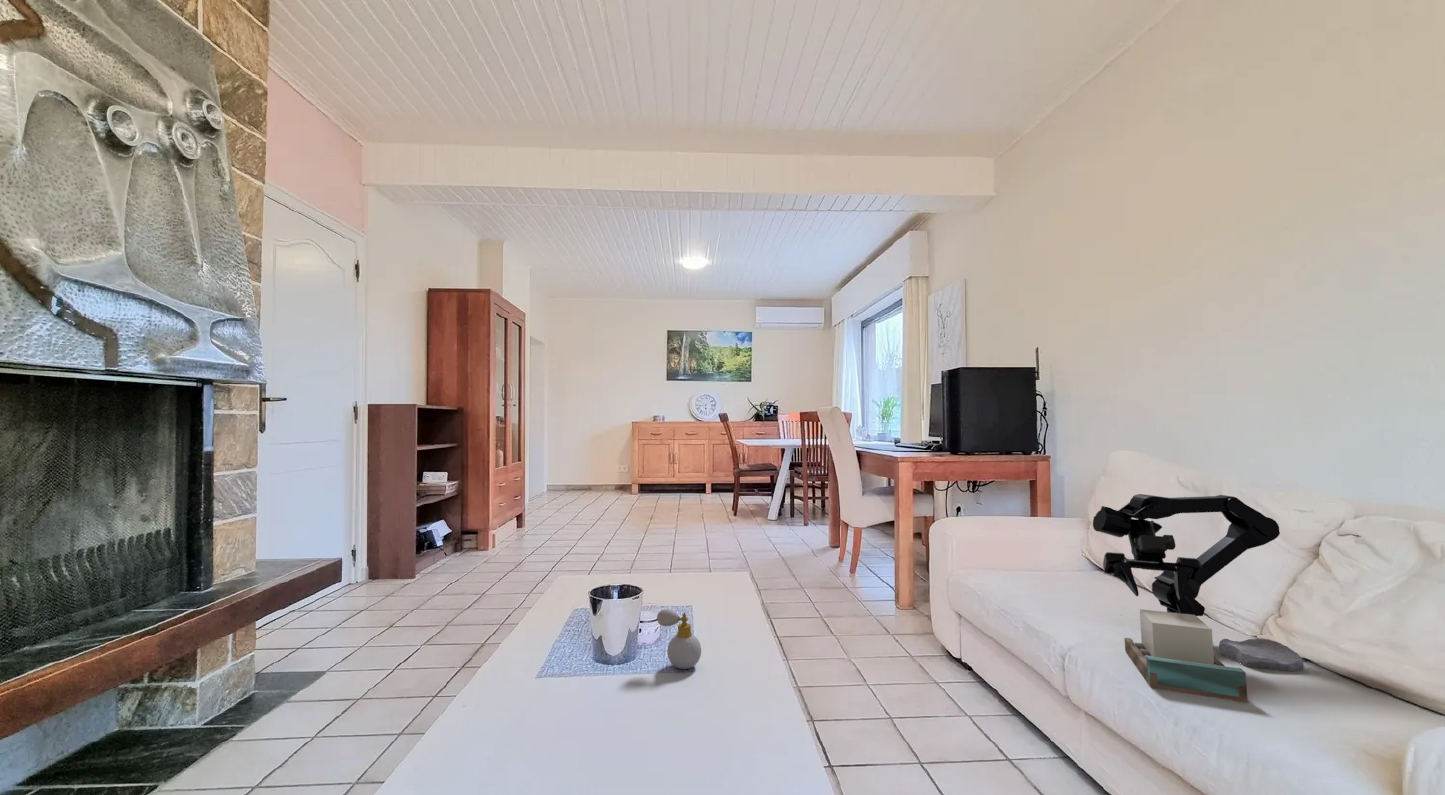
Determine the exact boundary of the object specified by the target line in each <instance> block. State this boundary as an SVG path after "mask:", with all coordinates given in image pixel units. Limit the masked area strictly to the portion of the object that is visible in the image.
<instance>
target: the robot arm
mask: <svg viewBox="0 0 1445 795" xmlns="http://www.w3.org/2000/svg"><path fill="white" fill-rule="evenodd" d="M1196 513H1197V514H1199V513H1221V514H1222V515H1223V517H1224V518H1225V520H1227V521H1228V522H1229V523H1230V524H1229V525H1228V528H1227V532H1226V534H1225V536H1224V537H1223V538H1221V539H1220V540H1219V541H1218V542H1216V543H1215V544H1213V545H1212V546H1211V547H1209V548H1208V549H1207V550H1206V551H1204V552H1203V553H1201V555H1199V556H1198V557H1197V558H1196V557H1182V556H1181V557H1180V556H1178V557H1177V558H1176V561H1175V562H1167V561H1166V562H1165V561H1164V560H1165V559H1166V557H1167V555H1166V552H1167V551H1168V550H1170V551H1171V550H1172V551H1174V550H1175V548H1176V540H1175V537H1174V535H1173V534H1163V535H1162V536H1160V535H1156V534H1157V533H1158V532H1159V531H1160V530H1161V529H1162V528H1163V526H1162V525H1161V524H1159V523H1157V522H1155V521H1154V520H1160V519H1164V518H1168V517H1169V518H1170V517H1172V516H1174V515H1179V514H1196ZM1148 519H1151V520H1148ZM1279 526H1280V525H1279V524H1278V523H1277V521H1276V520H1275V519H1273V518H1271V517H1268V516H1265V515H1264V514H1263V513H1262V512H1260V511H1258V510H1256V509H1254V507H1253V508H1252V507H1251V506H1249V505H1247V504H1246V503H1244V502H1243V501H1242V500H1241V499H1239V498H1238V497H1235V496H1232V495H1231V496H1230V495H1225V494H1220V495H1211V496H1209V495H1208V496H1207V495H1206V496H1187V497H1186V496H1184V497H1178V496H1177V497H1165V496H1159V495H1158V496H1157V495H1150V494H1143V493H1139V494H1138V493H1137V494H1134V495H1133V496H1132V497H1131V499H1130V500H1129V502H1128V503H1127V504H1124V506H1122V507H1121V508H1120V509H1118V510H1117V509H1113V508H1111V507H1110V506H1109V507H1108V506H1105V505H1102V506H1101V508H1100V510H1098V512H1096V513H1095V515H1094V516H1093V520H1092V527H1093V529H1094V531H1096V532H1097V533H1098V532H1099V533H1102V534H1106V535H1110V536H1113V537H1116V538H1123V537H1125V536H1128V540H1129V545H1130V547H1131V548H1130V550H1131V555H1132V556H1133V558H1127V557H1126V555H1125V553H1123V552H1113V551H1112V552H1108V551H1107V552H1105V554H1104V556H1103V563H1102V567H1103V571H1104V573H1105V574H1109V575H1113V576H1114V577H1116V578H1118V579H1120V580H1121V581H1122V583H1124V584H1125V585H1126V586H1127V587H1128V588H1129V590H1130V591H1132V594H1134V596H1136V597H1139V593H1140V592H1139V588H1138V585H1137V582H1136V580H1135V577H1134V574H1133V572H1132V570H1133V569H1140V570H1146V571H1161V572H1162V573H1161V574H1159V575H1158V576H1154V577H1153V578H1154V581H1153V582H1152V584H1151V591H1152V594H1153V596H1154V597H1155V598H1156V599H1157V600H1158V602H1159V604H1160V606H1162V607H1165V608H1166V612H1171V613H1181V614H1191V615H1195V616H1197V617H1203V616H1204V613H1205V611H1206V608H1205V606H1203V604H1201V603H1200V602H1199V601H1198V600H1196V598H1198V596H1199V593H1200V589H1201V586H1202V585H1203V584H1204V583H1206V582H1207V581H1208V580H1209V579H1211V578H1212V577H1213V576H1215V575H1216V574H1217V573H1219V572H1220V571H1222V570H1223V569H1224V568H1225V567H1226V566H1228V565H1229V564H1230V563H1232V562H1233V561H1234V560H1235V559H1237V558H1238V557H1240V555H1243V553H1244V552H1246V551H1247V550H1249V549H1254V548H1257V547H1262V546H1265V545H1266V544H1269V543H1270V542H1272V541H1275V539H1277V538H1278V537H1279V536H1280V533H1281V532H1280V527H1279Z"/></svg>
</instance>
